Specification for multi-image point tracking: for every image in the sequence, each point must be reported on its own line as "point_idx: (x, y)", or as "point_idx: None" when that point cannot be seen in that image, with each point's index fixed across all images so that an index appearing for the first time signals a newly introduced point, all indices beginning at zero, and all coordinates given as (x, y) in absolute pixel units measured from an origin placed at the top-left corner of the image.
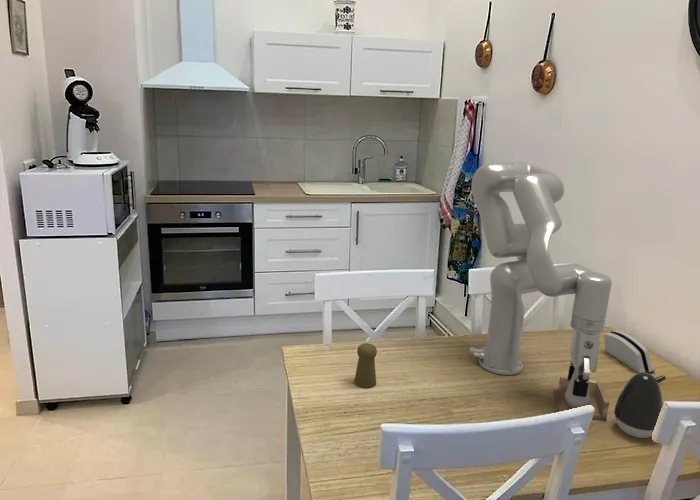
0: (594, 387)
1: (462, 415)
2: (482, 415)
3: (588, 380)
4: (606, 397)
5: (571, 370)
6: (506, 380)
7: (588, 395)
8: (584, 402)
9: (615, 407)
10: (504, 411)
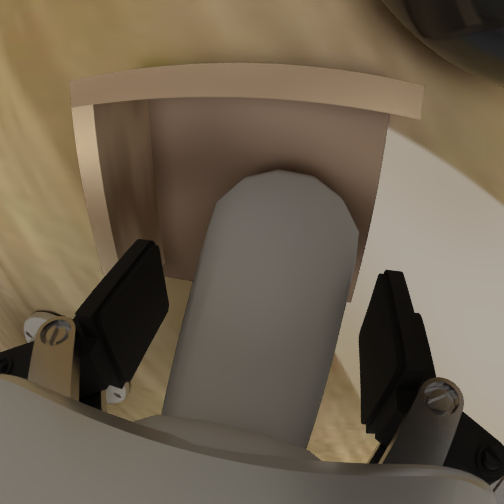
0: (114, 108)
1: (369, 456)
2: (369, 439)
3: (459, 412)
4: (330, 73)
5: (135, 357)
6: (150, 373)
7: (324, 214)
8: (354, 224)
9: (499, 79)
10: (348, 413)
